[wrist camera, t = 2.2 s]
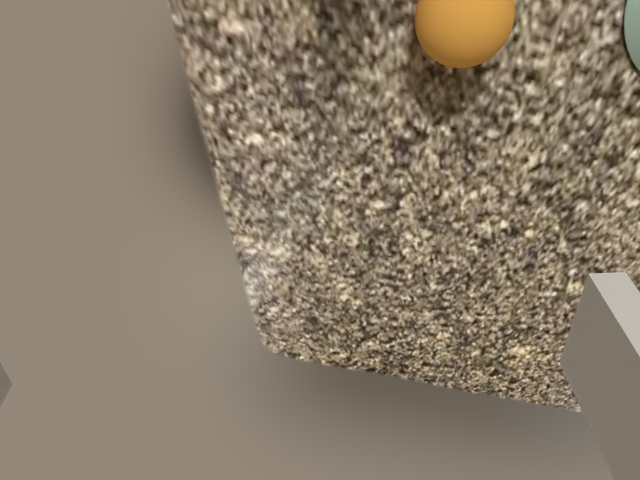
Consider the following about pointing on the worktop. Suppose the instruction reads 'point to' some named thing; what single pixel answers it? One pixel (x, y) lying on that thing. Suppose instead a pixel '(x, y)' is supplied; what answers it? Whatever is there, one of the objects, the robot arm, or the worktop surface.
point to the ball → (463, 29)
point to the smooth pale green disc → (632, 30)
